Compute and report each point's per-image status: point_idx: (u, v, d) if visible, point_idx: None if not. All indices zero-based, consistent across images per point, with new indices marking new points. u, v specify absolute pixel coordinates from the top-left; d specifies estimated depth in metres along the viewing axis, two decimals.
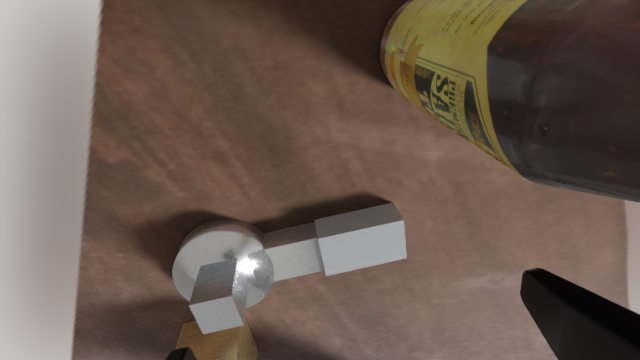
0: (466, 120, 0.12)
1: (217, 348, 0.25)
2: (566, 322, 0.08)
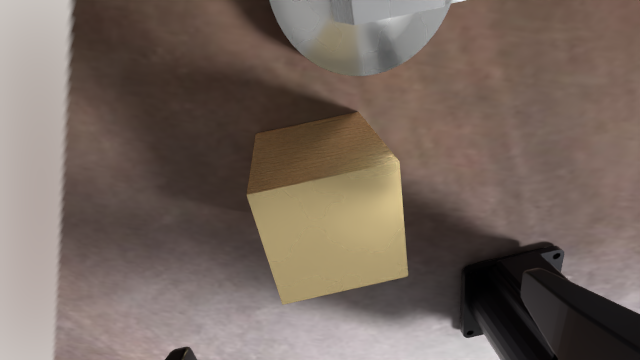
0: None
1: (337, 141, 0.13)
2: (566, 322, 0.08)
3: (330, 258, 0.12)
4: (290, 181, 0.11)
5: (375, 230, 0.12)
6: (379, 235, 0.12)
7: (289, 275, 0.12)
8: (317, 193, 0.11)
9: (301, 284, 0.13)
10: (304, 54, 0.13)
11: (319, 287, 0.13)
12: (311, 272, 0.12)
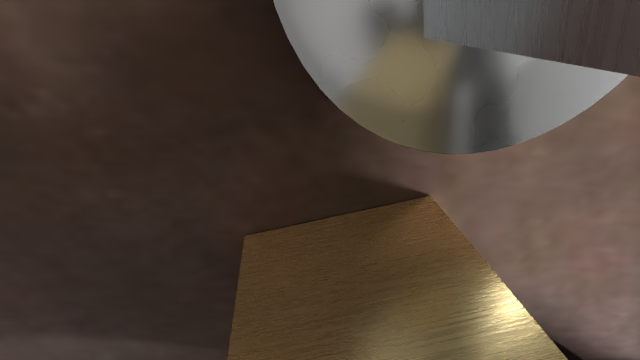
0: None
1: (418, 300, 0.06)
2: None
3: None
4: None
5: None
6: None
7: None
8: None
9: None
10: (348, 112, 0.06)
11: None
12: None
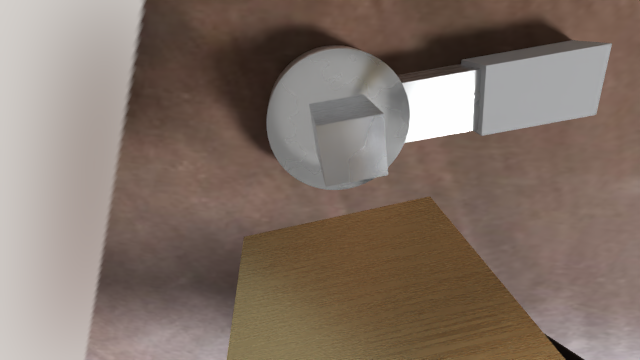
0: None
1: (418, 301, 0.06)
2: None
3: None
4: None
5: None
6: None
7: None
8: None
9: None
10: (294, 176, 0.17)
11: None
12: None
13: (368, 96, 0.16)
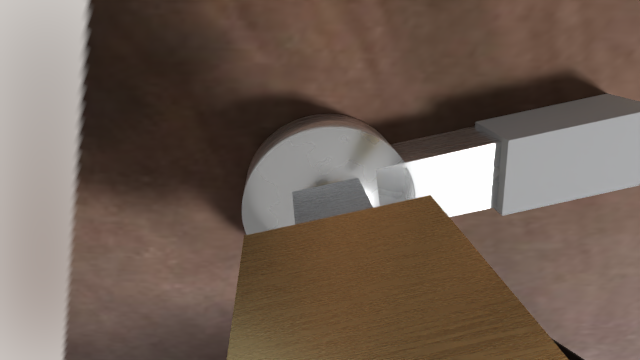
0: None
1: (419, 300, 0.06)
2: None
3: None
4: None
5: None
6: None
7: None
8: None
9: None
10: None
11: None
12: None
13: (364, 179, 0.13)
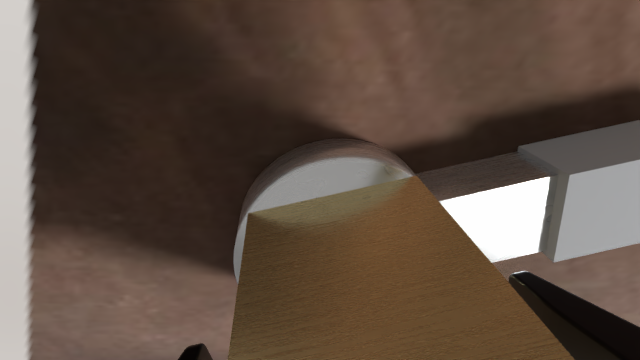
0: None
1: (400, 258, 0.07)
2: (550, 326, 0.08)
3: None
4: None
5: None
6: None
7: None
8: None
9: None
10: None
11: None
12: None
13: None
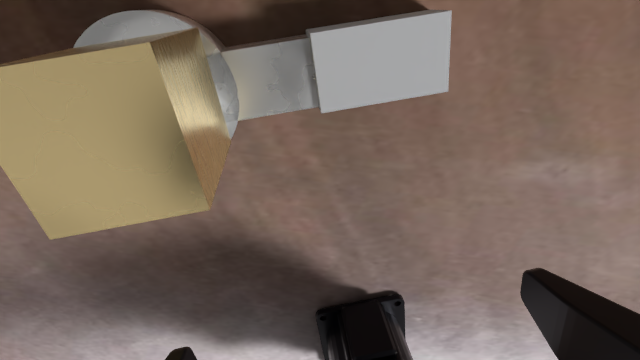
0: None
1: (129, 41, 0.11)
2: (566, 322, 0.08)
3: (95, 178, 0.10)
4: (11, 65, 0.08)
5: (145, 142, 0.09)
6: (153, 149, 0.10)
7: (45, 200, 0.10)
8: (45, 81, 0.08)
9: (66, 213, 0.10)
10: None
11: (93, 218, 0.10)
12: (75, 196, 0.10)
13: None
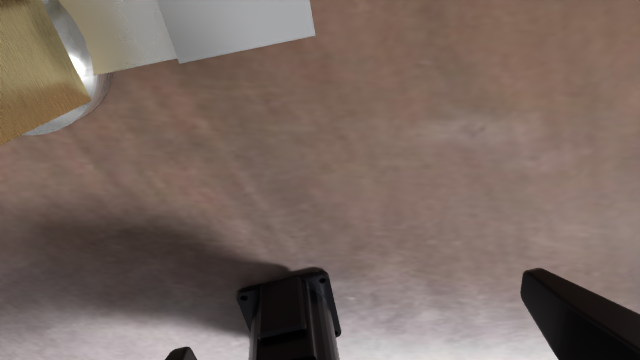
0: None
1: None
2: (566, 322, 0.08)
3: None
4: None
5: None
6: None
7: None
8: None
9: None
10: None
11: None
12: None
13: None
